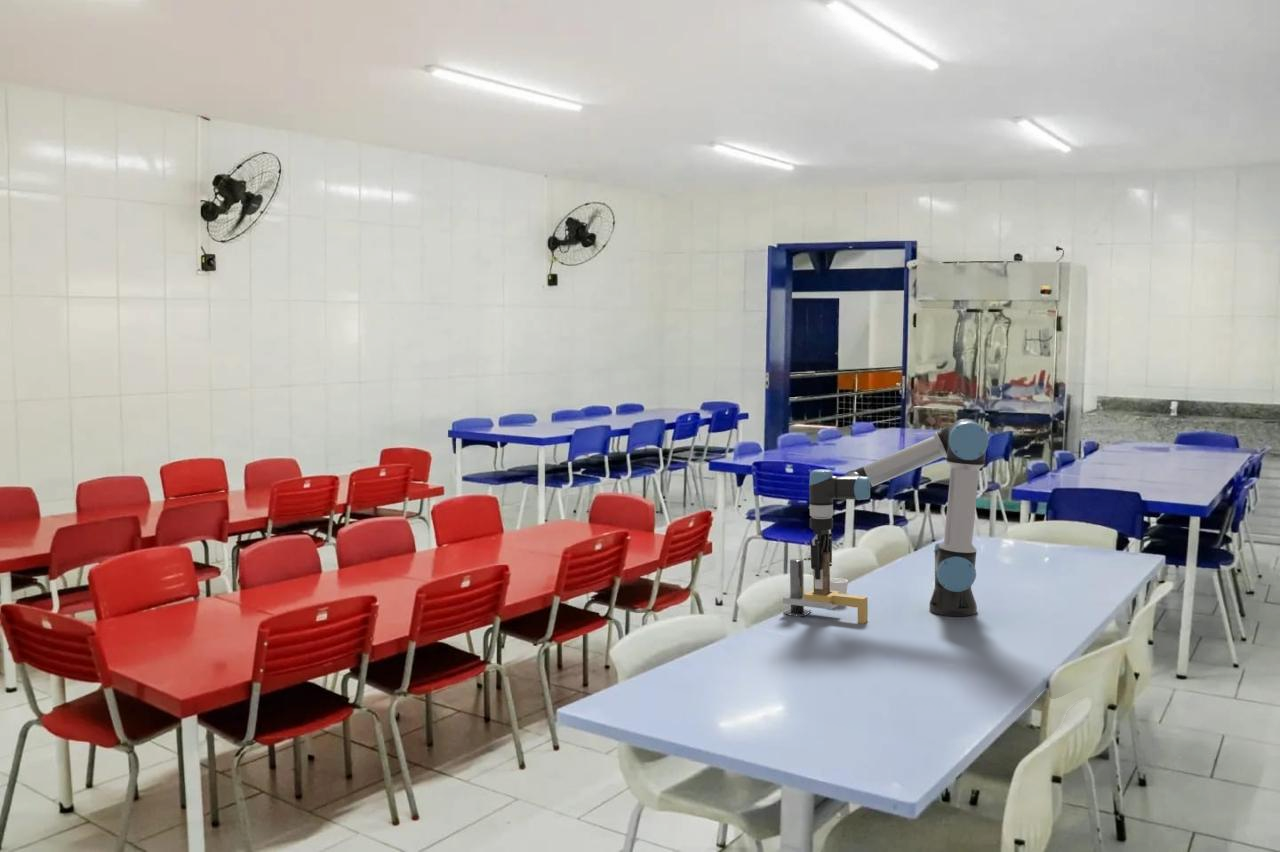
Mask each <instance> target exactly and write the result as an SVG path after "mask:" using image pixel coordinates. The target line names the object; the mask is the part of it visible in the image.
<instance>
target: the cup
mask: <svg viewBox="0 0 1280 852" xmlns="http://www.w3.org/2000/svg"><path fill="white" fill-rule="evenodd" d="M848 584H849V580H848V579H846V578H840V577H836V578H835V577H834V578H830V590H832V591H840V594H847V593H848Z"/></svg>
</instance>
